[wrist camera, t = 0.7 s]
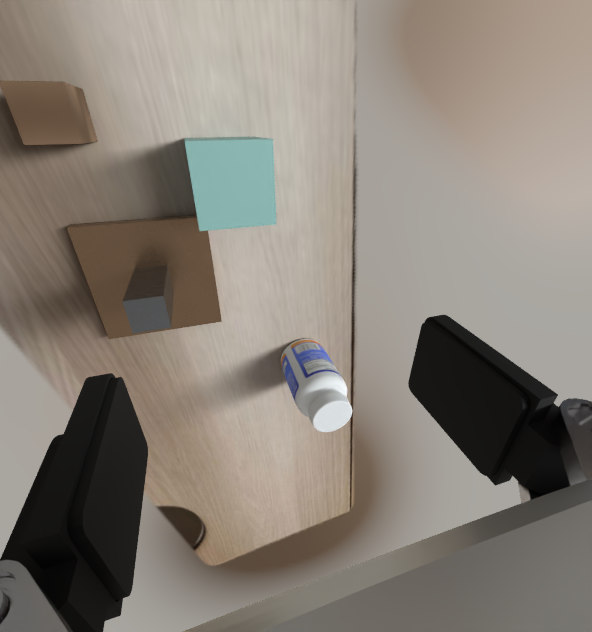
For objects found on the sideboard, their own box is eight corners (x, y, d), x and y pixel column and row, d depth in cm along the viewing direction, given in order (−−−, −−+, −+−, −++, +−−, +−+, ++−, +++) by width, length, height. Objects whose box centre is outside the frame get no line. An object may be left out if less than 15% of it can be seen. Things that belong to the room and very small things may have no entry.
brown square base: (70, 224, 24) (34, 254, 19) (205, 214, 27) (210, 237, 21) (111, 333, 29) (92, 383, 24) (220, 316, 32) (228, 358, 26)
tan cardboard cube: (29, 88, 20) (-2, 80, 17) (82, 89, 21) (63, 81, 17) (48, 142, 22) (23, 144, 18) (97, 141, 22) (82, 143, 19)
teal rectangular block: (184, 138, 24) (184, 141, 18) (253, 136, 25) (272, 139, 19) (196, 209, 26) (199, 231, 21) (258, 205, 28) (276, 224, 22)
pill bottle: (302, 380, 39) (332, 444, 31) (269, 363, 37) (293, 429, 29) (331, 349, 38) (370, 407, 30) (300, 328, 35) (334, 387, 27)
